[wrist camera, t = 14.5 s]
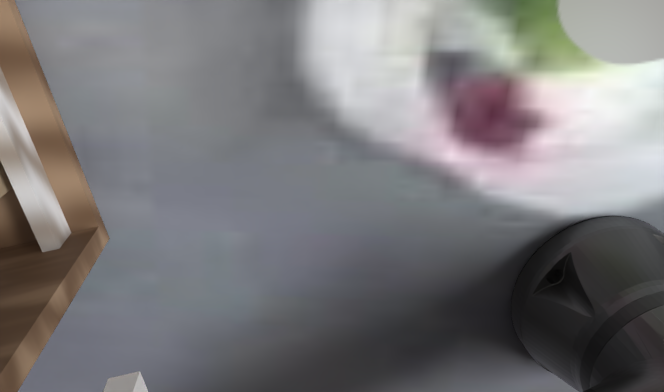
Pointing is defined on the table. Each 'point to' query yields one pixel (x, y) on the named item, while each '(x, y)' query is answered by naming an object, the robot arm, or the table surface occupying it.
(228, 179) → the table surface
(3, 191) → the door panel
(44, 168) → the wooden rack
